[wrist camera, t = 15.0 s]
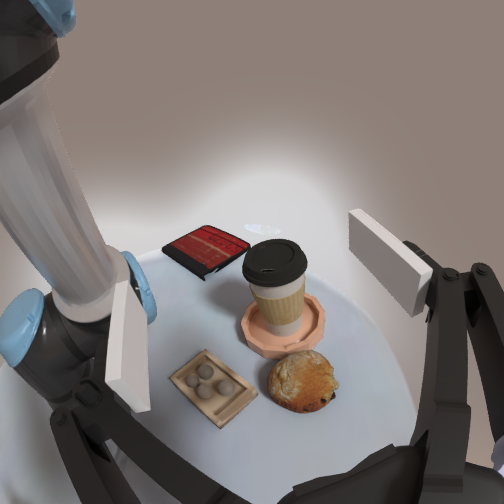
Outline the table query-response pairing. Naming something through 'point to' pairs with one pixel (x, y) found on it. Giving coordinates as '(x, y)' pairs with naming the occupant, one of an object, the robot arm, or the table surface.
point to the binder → (206, 250)
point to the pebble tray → (214, 388)
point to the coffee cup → (277, 283)
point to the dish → (284, 346)
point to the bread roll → (302, 382)
